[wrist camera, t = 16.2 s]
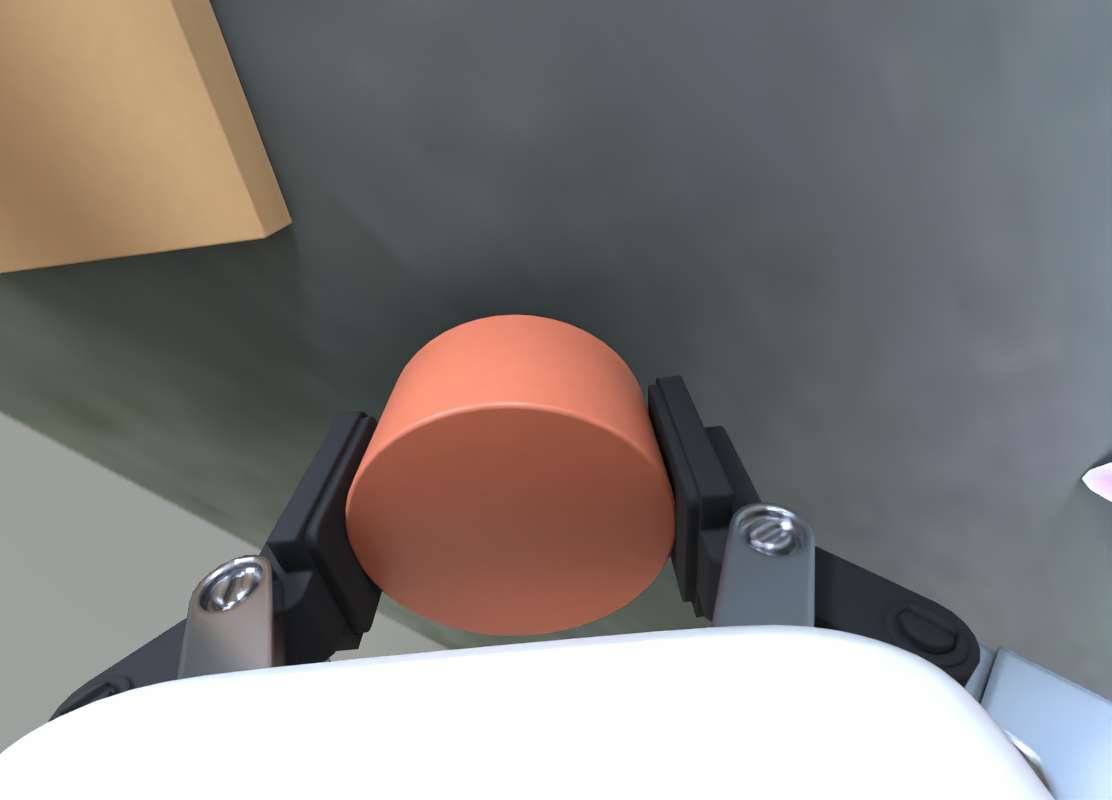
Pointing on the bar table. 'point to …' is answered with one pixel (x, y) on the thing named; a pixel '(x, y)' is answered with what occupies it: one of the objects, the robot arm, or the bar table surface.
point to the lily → (1100, 480)
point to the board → (124, 134)
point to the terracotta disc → (513, 482)
